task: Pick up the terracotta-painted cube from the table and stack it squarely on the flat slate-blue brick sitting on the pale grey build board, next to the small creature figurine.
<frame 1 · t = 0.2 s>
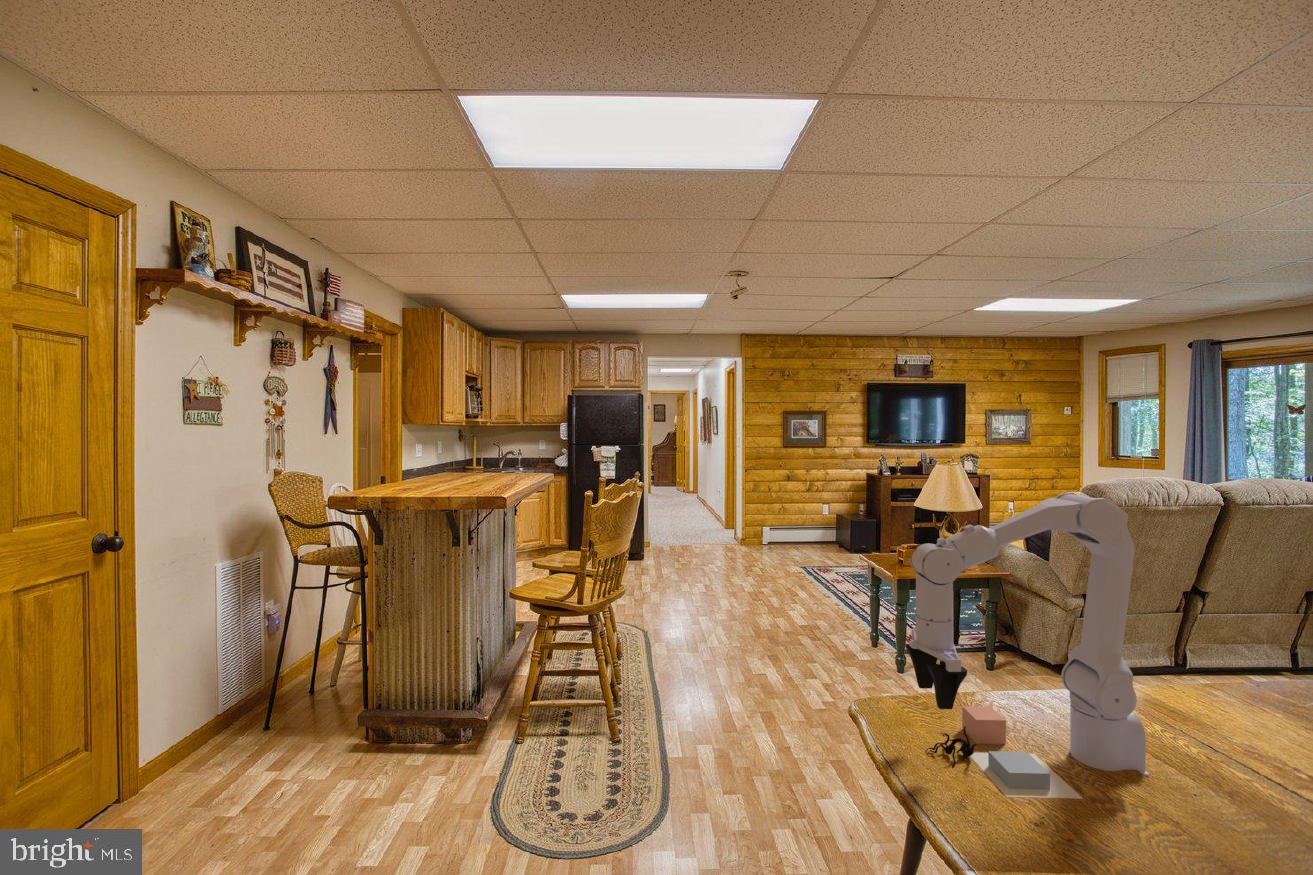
hand: (934, 697, 99), 10 cm above the table, tool pointing down, fingers open, 7 cm apart
build board: (1021, 778, 92), on the table
base brick: (1018, 777, 91), point 1 cm above the table, touching build board
creature: (948, 762, 98), on the table
top brick: (983, 741, 104), on the table
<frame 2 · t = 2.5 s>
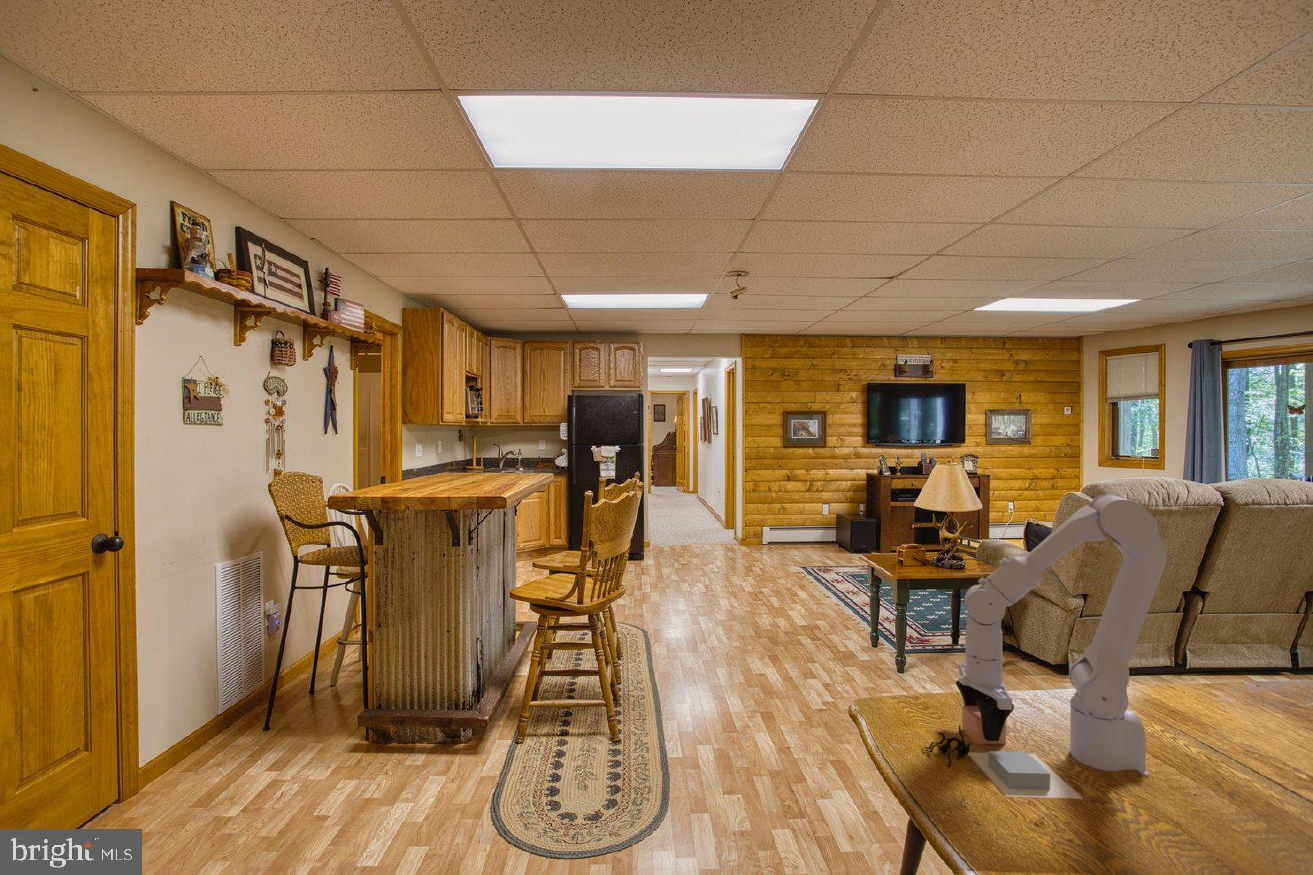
hand: (983, 731, 104), 2 cm above the table, tool pointing down, fingers closed on top brick, 5 cm apart
top brick: (983, 740, 104), on the table, touching gripper
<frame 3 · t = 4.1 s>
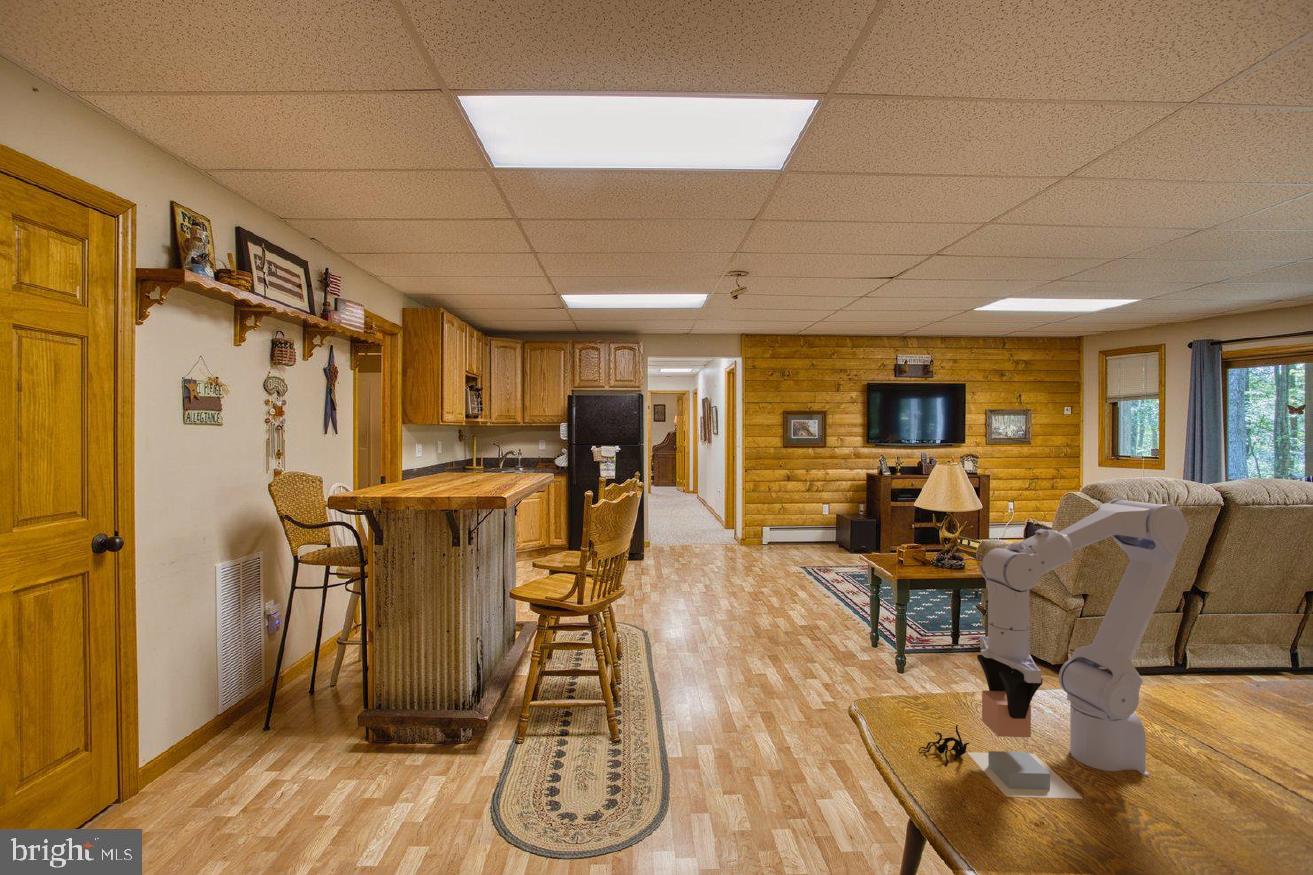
hand: (1008, 709, 94), 10 cm above the table, tool pointing down, fingers closed on top brick, 5 cm apart
top brick: (1005, 728, 95), point 7 cm above the table, touching gripper
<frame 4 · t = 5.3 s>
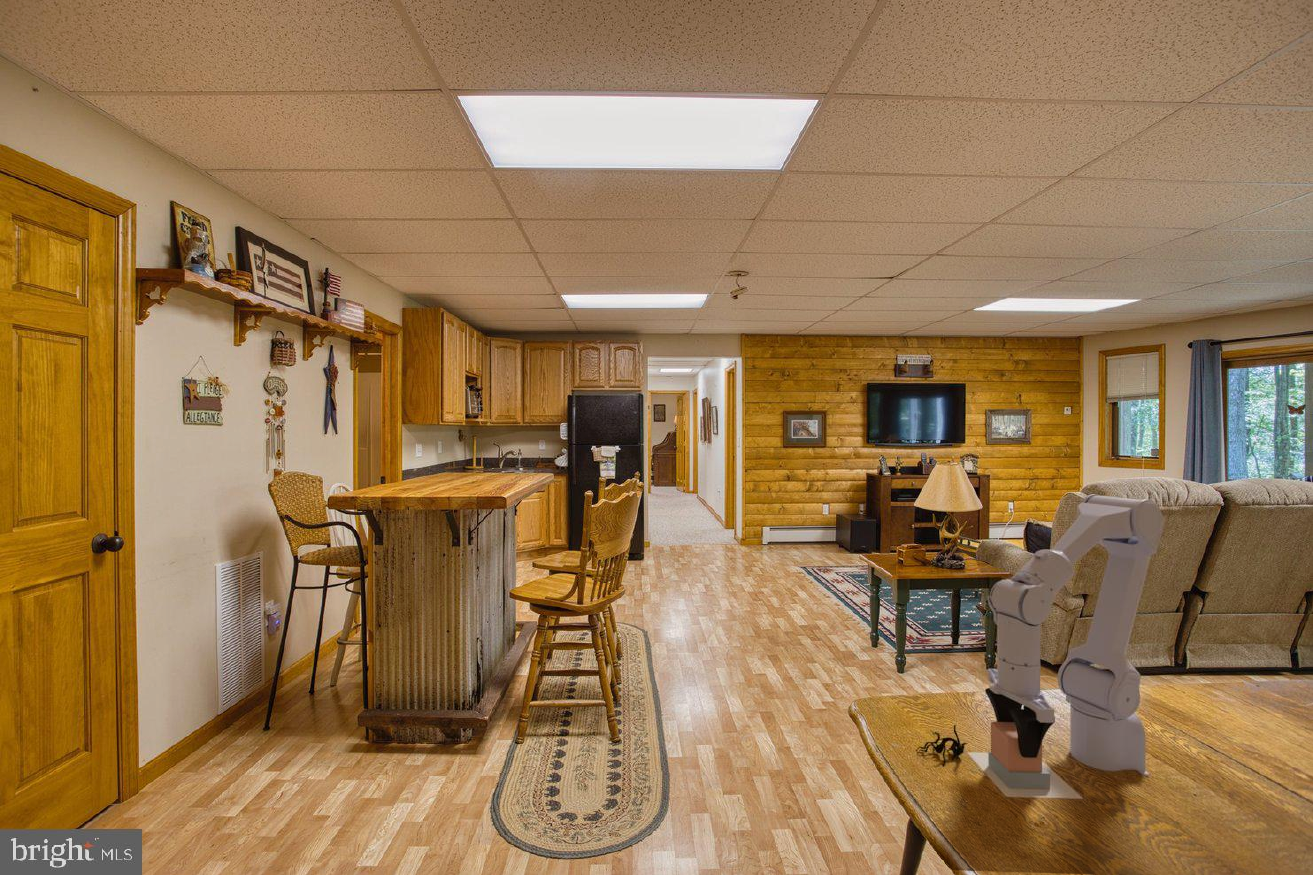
hand: (1018, 746, 91), 6 cm above the table, tool pointing down, fingers closed on top brick, 5 cm apart
base brick: (1018, 777, 91), point 1 cm above the table, touching build board, top brick
top brick: (1015, 762, 91), point 3 cm above the table, touching base brick, gripper
when the fingers open (6 cm above the table, at t = 6.1 s): top brick stays where it is, resting on base brick.
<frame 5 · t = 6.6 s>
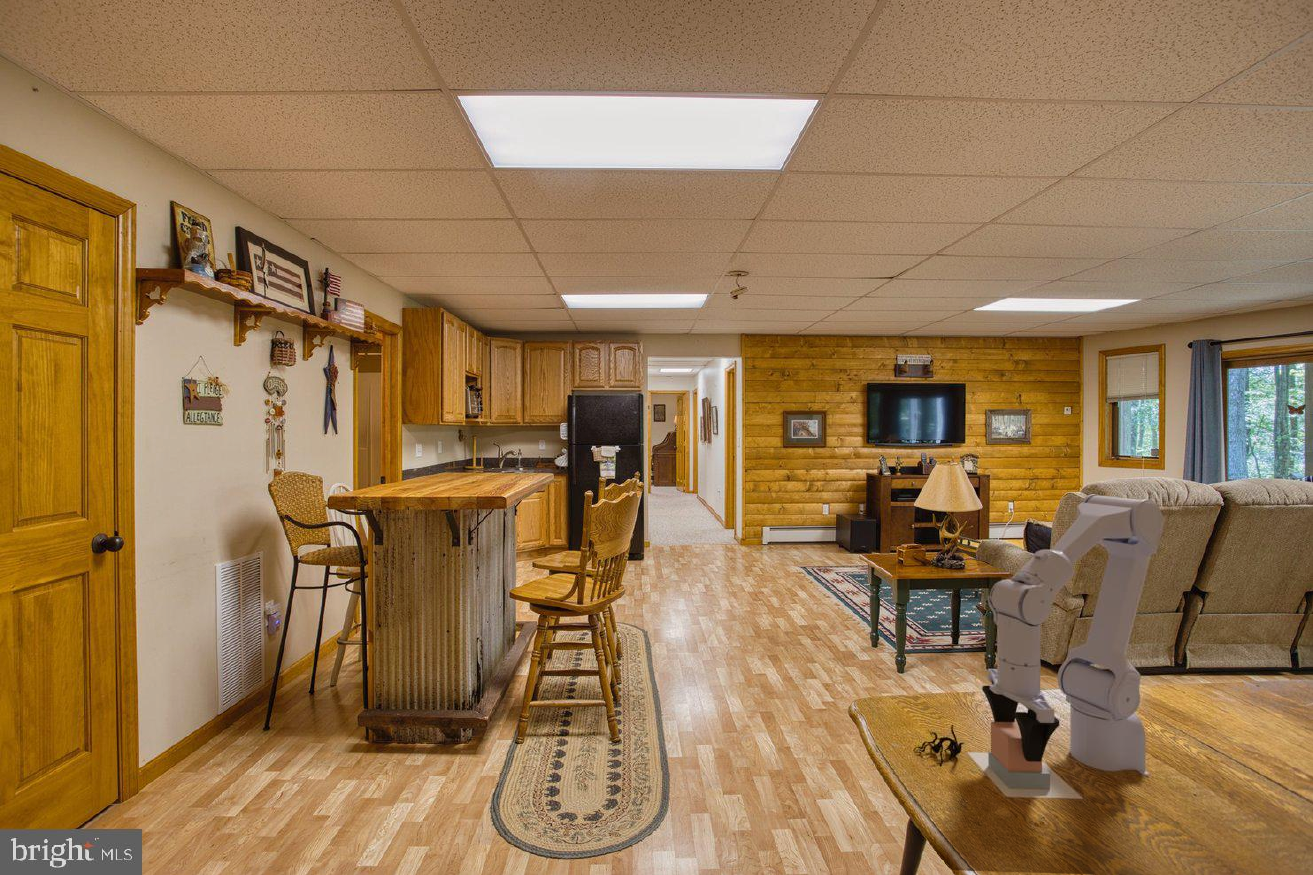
hand: (1018, 746, 91), 6 cm above the table, tool pointing down, fingers open, 7 cm apart
top brick: (1015, 762, 91), point 3 cm above the table, touching base brick
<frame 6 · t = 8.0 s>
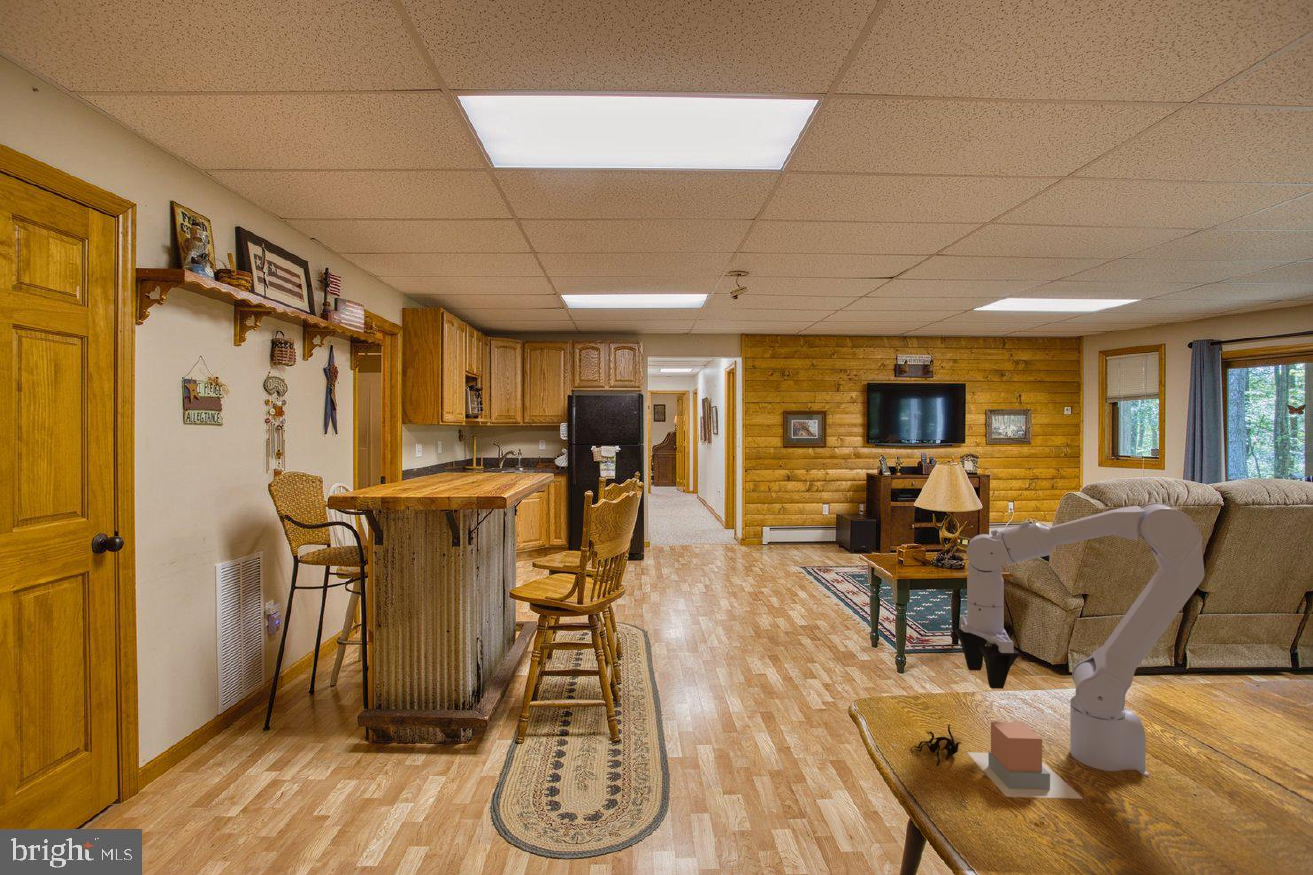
hand: (985, 678, 105), 10 cm above the table, tool pointing down, fingers open, 7 cm apart
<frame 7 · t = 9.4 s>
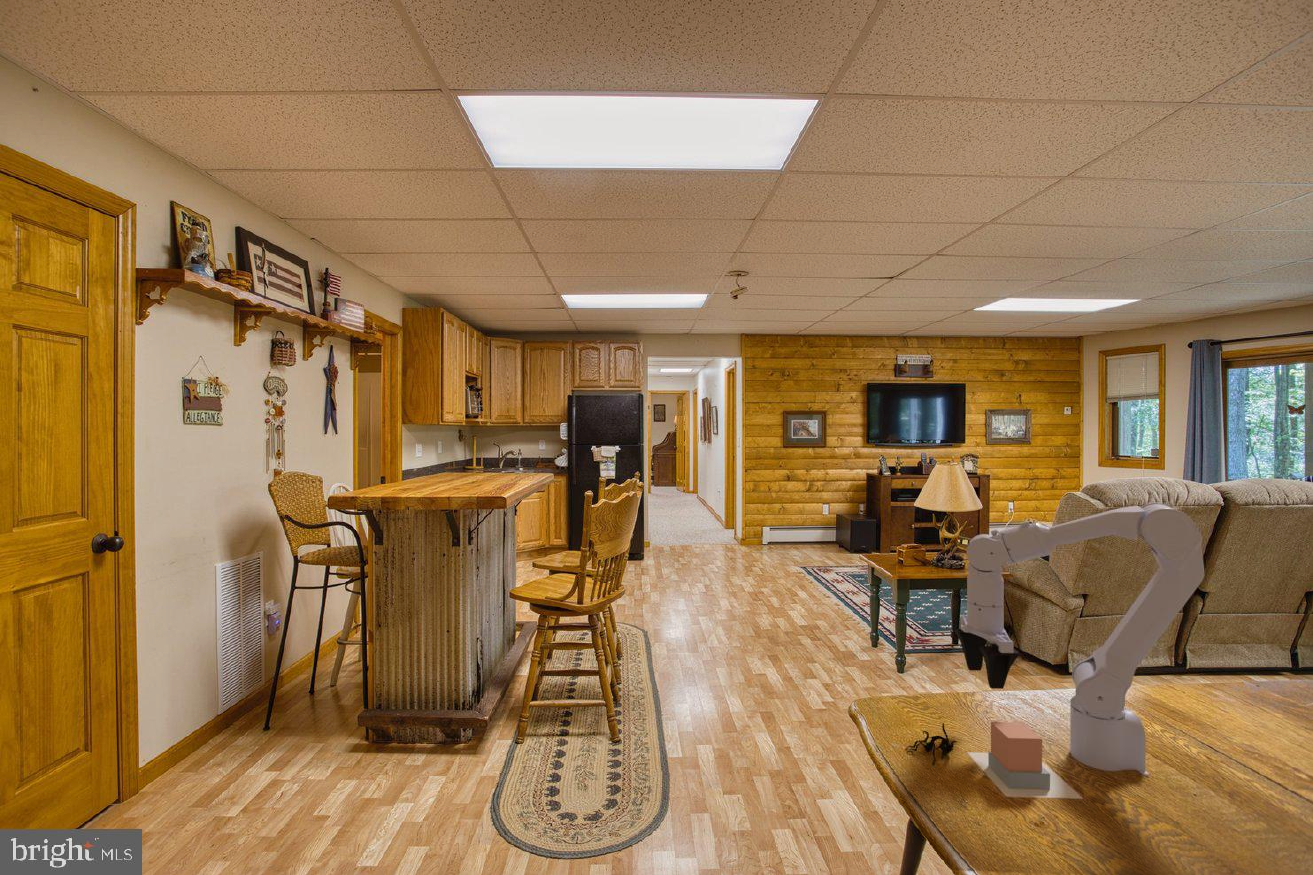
hand: (985, 678, 105), 10 cm above the table, tool pointing down, fingers open, 7 cm apart
at the end: top brick 0.4 cm off-centre on the base brick, point 2.4 cm above the base brick's base; top brick tilted 0°; the gripper is holding nothing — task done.
